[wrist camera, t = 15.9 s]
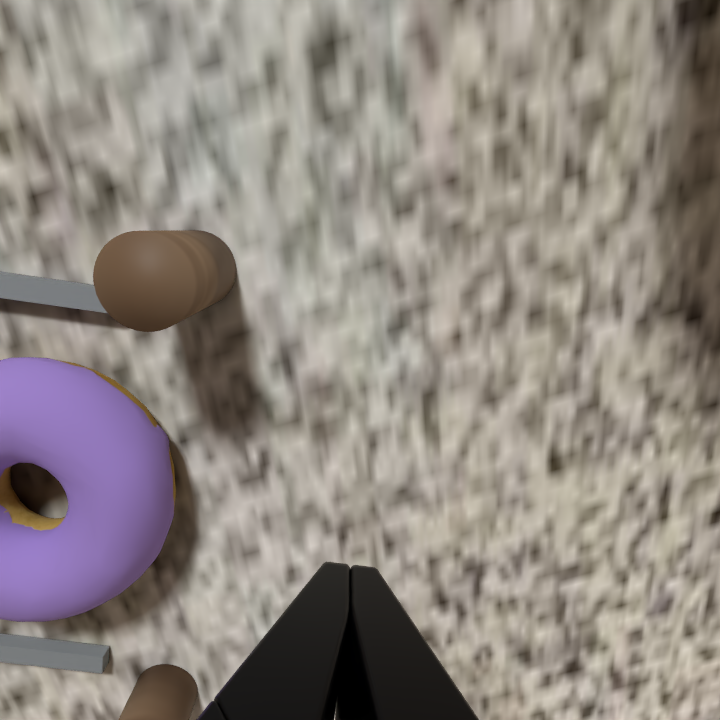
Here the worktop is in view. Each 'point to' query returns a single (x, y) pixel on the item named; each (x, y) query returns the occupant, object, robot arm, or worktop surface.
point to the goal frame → (31, 647)
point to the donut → (78, 489)
